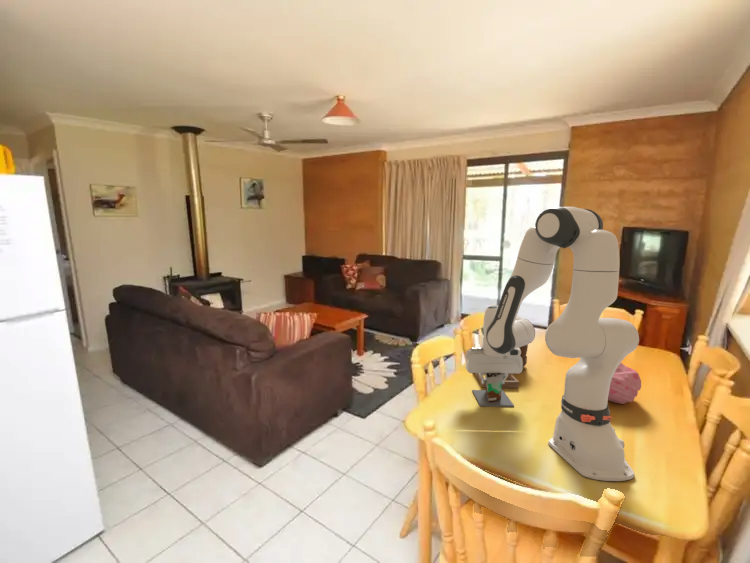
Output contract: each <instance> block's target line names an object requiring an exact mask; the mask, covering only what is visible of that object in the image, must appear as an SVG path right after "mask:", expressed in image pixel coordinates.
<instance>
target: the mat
mask: <svg viewBox="0 0 750 563" xmlns="http://www.w3.org/2000/svg"><path fill="white" fill-rule="evenodd" d="M471 392H472V394H473V393H474V394H473V395H474V397H476V398H475V400H476V401H477V403H478V405H479V407H482V408H485V407H486V408H489V407H491V408H495V407H496V408H514V407H515V404H514V403H513V402H512V400H511V399H510V397H509V396H508V395H507V393H506V392H505V391H504V389H501V399H500V400H499V401H496V402H488V398H487V393H486V389H472V390H471Z"/></svg>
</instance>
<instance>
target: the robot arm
mask: <svg viewBox="0 0 750 563" xmlns="http://www.w3.org/2000/svg"><path fill="white" fill-rule="evenodd" d="M560 248H562V249H567V248H569V249H570V250H571V252H572V254H573V266H572V280H571V288H570V295H569V299H568V301H567V303H566V306H565V308H564V309H563V311H562V312H561V314H560V315H559V316H558V317H557V318H556V319H555V320H554V321H552V322H551V323H550V324H548V326H547V328H546V330H545V334H544V341H545V343H546V344H545V345H546V347H547V348H548V350H549V351H550V352H551V353H552V354H553V355H555V356H557V357H563V358H567V359H568V358H569V359H579V360H578V361H577V362H576V363H575V364H574V365H572V366H571V367H570V368H569V369H568V370H567V371H566V373H565V377H564V378H565V379H564V391H563V394H562V396H561V400H560V401H561V402H560V406H561V407H560V408H561V411H560V413H559V414H558V416H557V417H556V419H555V423H554V429H553V434H552V435H553V436H552V437H551V438H550V439H548V445H549V446H550V447H551V448H552V449H553V450H554V451H555V452H556V453H557V454H558V455H559V456H560V457H562V458H563V459H564V460H565V462H567V463H568V464H569V465H570V466H571V467H573V469H575V470H576V471H577V473H579V474H580V475H581V476H582V477H586V478H588V479H592V480H596V481H597V480H598V481H605V482H622V481H623V482H624V481H628V480H629V481H630V480H632V479H634V478H635V472H634V470H633V469H632V467H631V465H629V463H628V462H627V460H626V459H625V457H626V456H625V455H626V454H625V449H624V448H625V441H624V440H623V439H622V438H619V437H618V435H617V434H616V430H615V428H614V427H613V426H612V424H611V421H612V420H613V416H611V415H610V414H611V410H610V407H609V404H608V401H609V400H608V395H609V389H610V383H611V380H612V377H613V375H614V373H615V371H616V369H617V367H618V366H619V364H620V363H622V362H623V360H624V359H625V358H626V357H627V356H628V355H629V354H631V353H633V352H634V351H635V350H636V349H637V348H638V346H639V342H640V336H639V332H638V329H637V328H636V326H635V325H634V324H633V323H632V322H631V321H629V320H626V319H621V318H617V317H616V318H614V317H601V315H602V314H603V312H604V311H605V309H607V308H608V307H609V306H611V305H613V304H614V303H615V301H616V300H617V299H618V293H619V292H618V291H619V279H620V267H621V266H620V265H621V264H620V263H621V262H620V248H619V242H618V238H617V236H616V235H615V234H614V233H613V232H611V231H608V230H605V229H604V221H603V219H602V217H601V215H599V213H597V212H596V211H594V210H591V209H589V208H588V209H587V208H582V207H581V208H579V207H576V206H553V207H549V208H547V209H545V210H543V211H541V213H540V214H539V215H538V216H537V218H536V220H535V224H534V225H533V226H531V227H529V228H528V229H527V230H526V232H525V234H524V236H523V239H522V240H521V243H520V247H519V250H518V253H517V257H516V261H515V264H514V267H513V270H512V272H511V275H510V277H509V278H508V280H507V282H506V284H505V286H504V289H503V291H502V294H501V297H500V300H499V303H498V304H495V305H491V306H488V307H486V309H485V311H484V316H483V317H484V318H483V326H482V327H483V328H482V329H483V336H482V344H481V345H482V347H470V348H469V349H468V350H466V352H465V353H466V354H465V358H466V362H465V369H466V371H467V372H468V373H469V374H474V373H479V374H480V376H481V378H482V384H487V379H486V378H485V377H484V376H485V373H503V376H504V378H503V380H502V384H505V381H507V380H506V379H508V378H507V377H508V373H512V374H521V373H522V372H523V369H524V368H523V361H522V357H521V356H520V355H521V350H520V348H519V347H522V346H524V345H527V344H528V345H529V344H531V343H533V341H534V340H535V337H536V329H535V326H534V325H533V323H532V322H531V321H530V320H529V319H527V318H523V317H522V316H519V315H518V314H519V310H520V309H521V308H520V307H521V305H522V303H523V301H525V299H526V298H527V297H529V295H530V294H531V293H533V292H534V291H536V290H538V289H540V288H541V287H542V286H544V285H545V284H547V282H548V280H549V278H550V276H551V274H552V271H553V268H554V265H555V260H556V257H557V254H558V251H559V249H560Z"/></svg>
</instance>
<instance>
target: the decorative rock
mask: <svg viewBox="0 0 750 563" xmlns="http://www.w3.org/2000/svg"><path fill="white" fill-rule="evenodd" d="M641 389H642V380H641V377H640V374H639V373H638V372H637V371H636V370H635V369H633V368H631V367H628V366H626V365H624V364H623V363H622V362H621V363H620V364H619V366H618V367H617V369H616V371H615V373H614V375H613V377H612V380H611V383H610V389H609V395H608V401H610V402H611V403H615V404H622V405H625V404H627V403H630V402H631V403H632V402H633V401H634V400H635V398H636V397H637V396H638V395H639V394H638V393H639V392H638V391H641Z"/></svg>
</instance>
